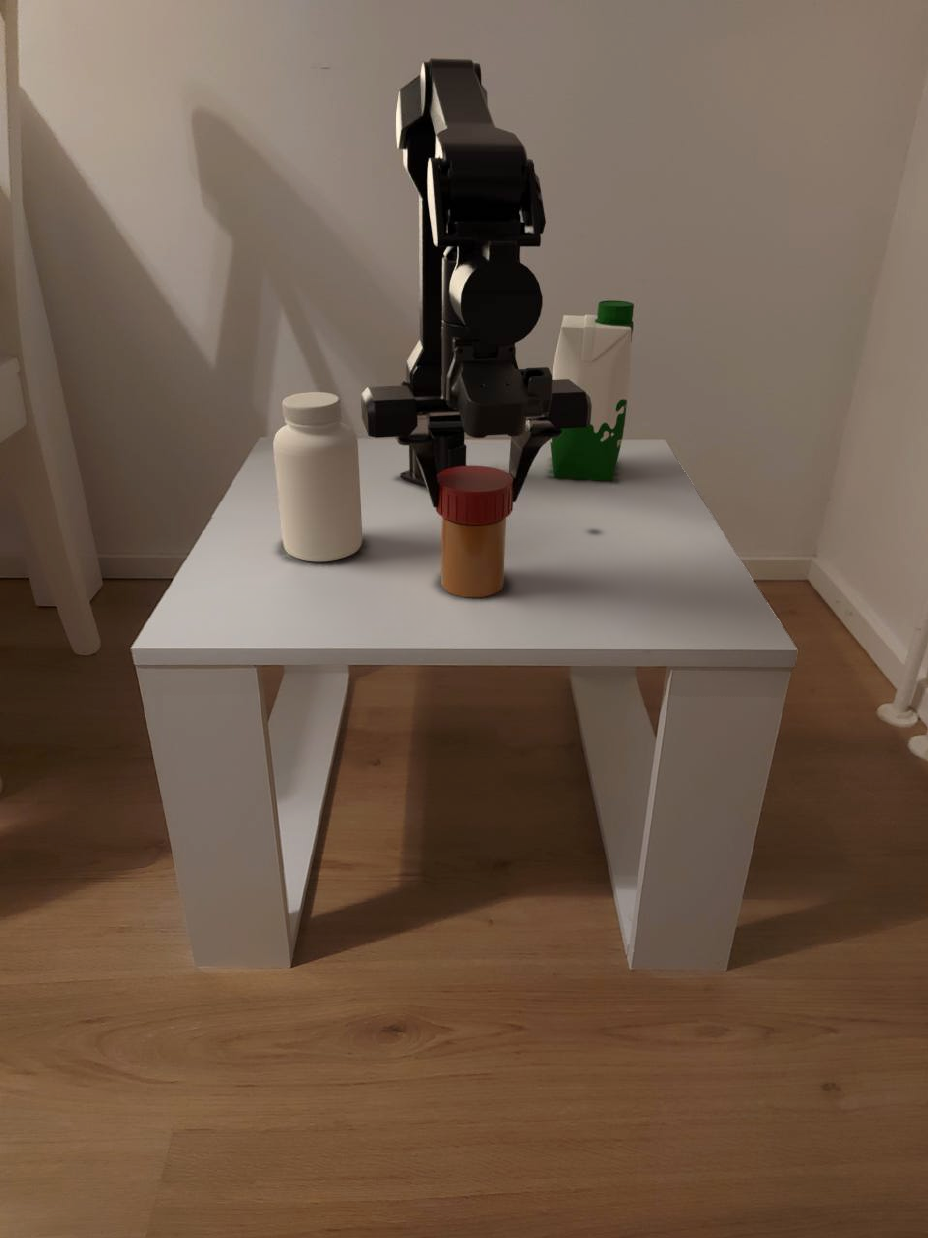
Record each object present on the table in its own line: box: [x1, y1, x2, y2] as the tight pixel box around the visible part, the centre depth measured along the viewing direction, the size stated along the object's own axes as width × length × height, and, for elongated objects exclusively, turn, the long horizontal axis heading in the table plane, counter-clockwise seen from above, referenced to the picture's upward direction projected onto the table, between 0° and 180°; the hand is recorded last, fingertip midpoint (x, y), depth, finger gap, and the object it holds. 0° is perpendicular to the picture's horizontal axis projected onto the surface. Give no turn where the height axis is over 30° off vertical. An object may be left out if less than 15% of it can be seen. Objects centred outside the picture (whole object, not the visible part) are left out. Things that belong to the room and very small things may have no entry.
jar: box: [440, 516, 507, 599], centre depth 79 cm, size 6×6×10 cm
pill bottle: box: [272, 391, 363, 562], centre depth 84 cm, size 8×8×15 cm
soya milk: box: [549, 299, 635, 482], centre depth 104 cm, size 9×9×20 cm
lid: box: [434, 465, 514, 524], centre depth 77 cm, size 7×7×3 cm
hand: (473, 503), depth 77 cm, fingers closed on lid, 7 cm apart
